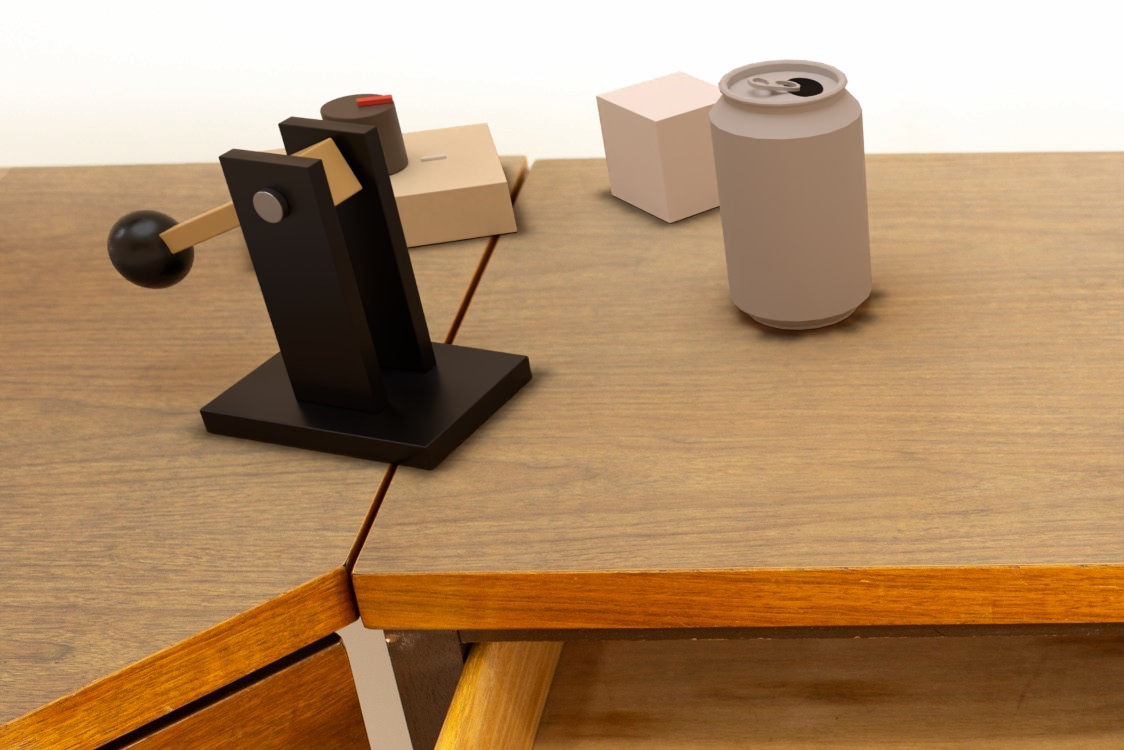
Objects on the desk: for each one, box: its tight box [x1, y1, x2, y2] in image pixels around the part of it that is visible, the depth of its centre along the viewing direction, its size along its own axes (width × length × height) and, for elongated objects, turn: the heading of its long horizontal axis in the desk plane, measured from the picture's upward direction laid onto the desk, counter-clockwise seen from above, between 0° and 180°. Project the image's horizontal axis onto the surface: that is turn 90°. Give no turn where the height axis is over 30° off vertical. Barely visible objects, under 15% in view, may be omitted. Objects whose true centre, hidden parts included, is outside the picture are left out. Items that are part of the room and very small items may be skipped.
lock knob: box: [319, 93, 408, 175], centre depth 90 cm, size 4×4×4 cm
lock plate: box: [257, 122, 518, 248], centre depth 92 cm, size 14×10×3 cm
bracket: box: [198, 115, 533, 470], centre depth 72 cm, size 12×9×13 cm
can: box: [709, 58, 873, 331], centre depth 80 cm, size 8×8×12 cm
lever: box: [106, 138, 362, 290], centre depth 71 cm, size 14×4×4 cm, turn 74°
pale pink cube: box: [595, 70, 722, 224], centre depth 94 cm, size 6×6×6 cm
